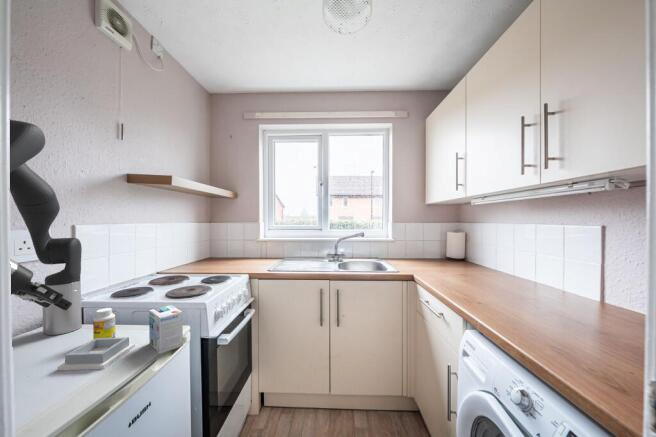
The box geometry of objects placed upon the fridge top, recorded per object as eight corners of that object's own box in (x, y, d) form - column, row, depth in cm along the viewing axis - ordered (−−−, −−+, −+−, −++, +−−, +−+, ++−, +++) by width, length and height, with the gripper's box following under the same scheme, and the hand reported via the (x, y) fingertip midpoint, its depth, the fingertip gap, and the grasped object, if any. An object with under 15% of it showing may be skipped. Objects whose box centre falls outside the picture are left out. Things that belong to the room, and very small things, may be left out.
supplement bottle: (90, 342, 88) (89, 311, 88) (110, 335, 92) (110, 306, 92) (98, 346, 85) (97, 313, 85) (118, 339, 90) (118, 308, 90)
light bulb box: (148, 343, 86) (148, 309, 86) (171, 336, 91) (171, 304, 91) (159, 354, 79) (158, 317, 79) (184, 346, 84) (183, 311, 84)
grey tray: (57, 370, 72) (57, 357, 72) (95, 348, 84) (94, 336, 84) (104, 368, 72) (103, 355, 72) (134, 346, 84) (134, 335, 84)
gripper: (31, 262, 67) (86, 295, 78) (-2, 260, 71) (54, 292, 82) (0, 289, 62) (63, 321, 73) (-33, 285, 66) (31, 315, 77)
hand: (59, 305), depth 77 cm, fingers open, 8 cm apart
